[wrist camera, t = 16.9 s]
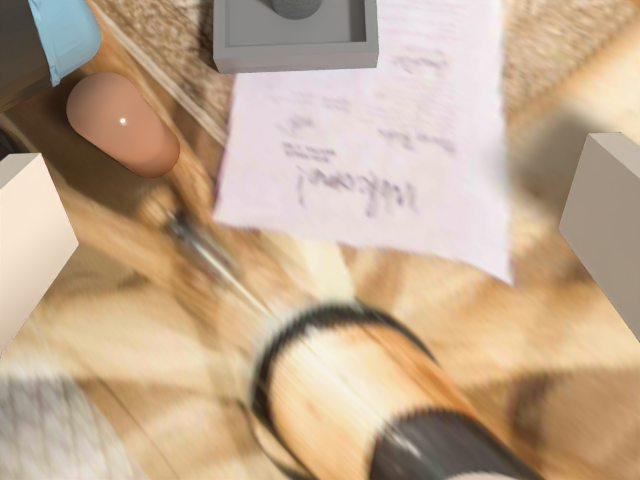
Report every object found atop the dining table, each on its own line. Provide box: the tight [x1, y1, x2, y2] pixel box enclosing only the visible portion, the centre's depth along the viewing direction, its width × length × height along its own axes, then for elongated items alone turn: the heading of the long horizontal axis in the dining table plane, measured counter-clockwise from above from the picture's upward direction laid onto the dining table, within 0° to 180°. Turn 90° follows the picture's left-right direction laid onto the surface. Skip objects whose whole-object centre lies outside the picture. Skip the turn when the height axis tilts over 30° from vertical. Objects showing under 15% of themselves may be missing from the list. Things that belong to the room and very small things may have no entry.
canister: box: [67, 72, 180, 178], centre depth 37 cm, size 5×5×9 cm
